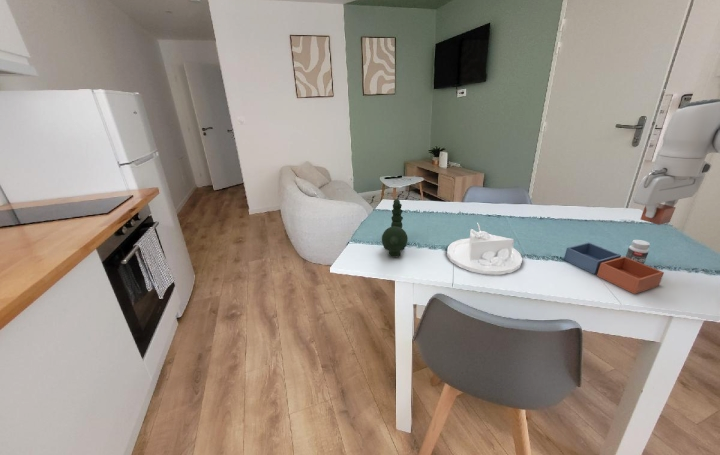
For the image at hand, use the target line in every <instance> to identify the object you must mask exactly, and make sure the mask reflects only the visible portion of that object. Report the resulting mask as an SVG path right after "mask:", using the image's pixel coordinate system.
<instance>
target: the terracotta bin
mask: <svg viewBox="0 0 720 455" xmlns="http://www.w3.org/2000/svg"><path fill="white" fill-rule="evenodd" d="M664 274H665V272H664V271H662V270H659V269H657V268H654V267H652V266H649V265H646V264H645V263H644V264H642V263H639V262H637V261H634V260H632V259H629V258H627V257H626V256H621V257H620V258H617V259H613V260H610V261H606V262H603V263H601V264H600V267H599V271H598V273H597V274H596V277H598V278H601V279H603V280H604V281H607V282H609V283H611V284H613V285H615V286H617V287H619V288H621V289H623V290H625V291H628V292H629V293H632V294H634V295H636V294H638V293H642V292H645V291H647V290H651V289H654V288H657V287H659V286H660V283H661V281H662V279H663V277H664Z"/></svg>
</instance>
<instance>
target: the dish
mask: <svg viewBox="0 0 720 455" xmlns="http://www.w3.org/2000/svg"><path fill="white" fill-rule="evenodd" d="M476 225H477V228H478V231H476V230H475V229H473V228H471V229H470V233H469V237H467V238H461V239H457V240H455V241H452V242H451V243H450V244H449V245H448V246H447V250H446V257H447V258H448V259H449V261H450V262H452V263H453V264H454V265H456V266H457V267H458V268H461V269H464V270H466V271H468V272H471V273H477V274H482V275H494V276H495V275H496V276H497V275H499V276H500V275H501V276H502V275H505V274H506V275H507V274H511V273H513V272H516V271H517V270H519V269H520V268H521V265H522V263H523V257H522V254H521V253H520V252H519V251H518V250H517V249H516V248H514V242H515V239H514V238H509V237H504V236H500V235H494V234H490V233H489V232H487V231H484V230H481V226H480V224H479V223H478V222H476Z"/></svg>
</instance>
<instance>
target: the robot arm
mask: <svg viewBox="0 0 720 455" xmlns="http://www.w3.org/2000/svg"><path fill="white" fill-rule="evenodd" d="M662 139H663V141H662V142H663V143H662V146H661V148H660V149H659V150H658V152H657V154H656V157H655V159H654V162H653V165H652V167H651V171H650V173H648V174H647V175H645V176H644V177H643V178H642V179H641V180H640V183H639V184H638V186H637V188H636V190H635V193H634V194H633V197H632V198H633V199H632V201H633V203H634V204H637V205H642V206H644V207H645V206H646V210H647V211H646V214H645V216H646V217H649V218H653V217H656V215H657V213H658V212H657V211H656V208H657V207H658V206H659V203H660V204H664V205H668V206H672V207H676V205H677V204H678V202H679V200H684V199H687V198H692V197H694V196H695V195H696V194H697V192H698V191H699V189H700V187H701V186H702V184H703V181H704V180H705V177H706V173H709V172H710V171H711V168H712V166H713V165H712V164H711V163H709V162H708V161H706V158H707V155H708V154H712V153H713V154H720V98H713V99H705V100H704V99H703V100H698V101H692V102H691V101H690V102H687V103H685V104H683V105H681V106H679V107H678V108H676V110H675V111H674V112H673V114H672V116H671V118H670V120H669V122H668V124H667V127H666V129H665V132H664V134H663V138H662Z"/></svg>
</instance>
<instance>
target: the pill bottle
mask: <svg viewBox="0 0 720 455" xmlns="http://www.w3.org/2000/svg"><path fill="white" fill-rule="evenodd" d="M650 245H651V243H650V242H649V241H646V240H643V239H633V240H632V242H631V245H629V246H628V249H627V252H626V254H625V257H627V258H629V259H632V260H634V261H637V262H639V263H642V264H644V265H645V263H646V260H647V257H648V255H649V253H650V250H649V248H650Z"/></svg>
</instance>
